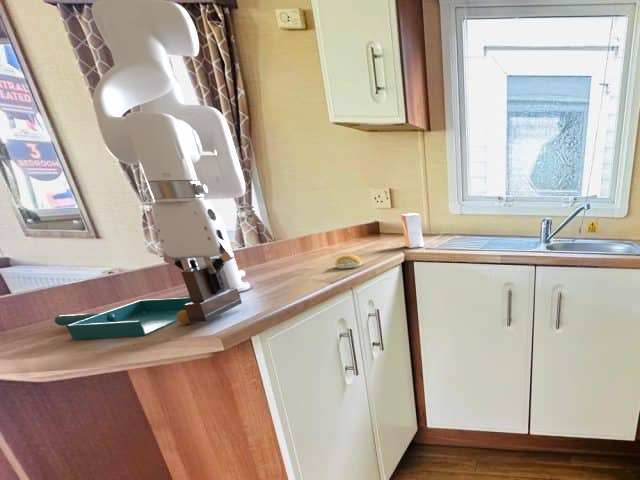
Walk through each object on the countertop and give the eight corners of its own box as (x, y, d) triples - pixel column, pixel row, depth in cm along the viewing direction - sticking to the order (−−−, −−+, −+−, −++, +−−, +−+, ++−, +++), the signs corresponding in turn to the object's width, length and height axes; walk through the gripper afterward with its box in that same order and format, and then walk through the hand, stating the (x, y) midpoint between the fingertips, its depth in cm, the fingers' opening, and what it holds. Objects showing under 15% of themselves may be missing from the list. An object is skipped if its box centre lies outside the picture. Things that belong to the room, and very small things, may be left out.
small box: (404, 246, 184) (400, 214, 178) (419, 244, 187) (415, 213, 181) (409, 248, 178) (405, 215, 172) (424, 246, 180) (420, 214, 174)
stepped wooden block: (227, 303, 92) (213, 261, 88) (242, 303, 92) (228, 261, 88) (189, 322, 80) (171, 274, 76) (206, 321, 80) (189, 273, 76)
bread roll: (363, 263, 144) (360, 251, 143) (360, 268, 137) (358, 255, 135) (337, 265, 143) (335, 253, 141) (333, 269, 135) (331, 257, 133)
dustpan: (202, 308, 94) (198, 296, 93) (144, 335, 77) (138, 321, 76) (97, 314, 93) (91, 302, 92) (14, 343, 76) (6, 329, 75)
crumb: (185, 322, 85) (180, 308, 83) (199, 321, 85) (194, 307, 84) (176, 326, 82) (170, 312, 81) (191, 325, 82) (186, 311, 81)
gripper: (233, 190, 80) (261, 287, 88) (144, 194, 79) (181, 291, 87) (211, 191, 74) (244, 295, 82) (114, 195, 73) (157, 300, 80)
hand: (211, 292), depth 84 cm, fingers closed on stepped wooden block, 2 cm apart
